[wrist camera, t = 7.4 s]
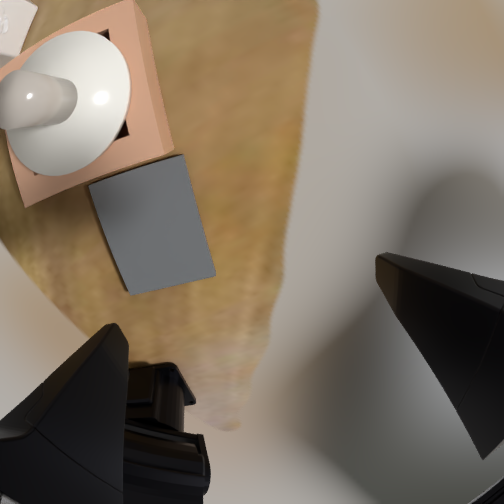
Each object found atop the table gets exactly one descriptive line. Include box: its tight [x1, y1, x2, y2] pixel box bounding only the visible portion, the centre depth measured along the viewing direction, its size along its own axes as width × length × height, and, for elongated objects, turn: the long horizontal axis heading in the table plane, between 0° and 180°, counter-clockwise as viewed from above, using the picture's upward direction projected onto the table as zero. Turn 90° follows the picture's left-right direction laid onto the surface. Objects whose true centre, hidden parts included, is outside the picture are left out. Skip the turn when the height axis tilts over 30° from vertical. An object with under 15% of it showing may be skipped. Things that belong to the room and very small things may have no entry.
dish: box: [0, 0, 174, 208], centre depth 14 cm, size 10×10×4 cm
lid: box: [0, 31, 132, 176], centre depth 9 cm, size 8×8×5 cm
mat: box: [89, 154, 216, 295], centre depth 19 cm, size 9×7×1 cm
